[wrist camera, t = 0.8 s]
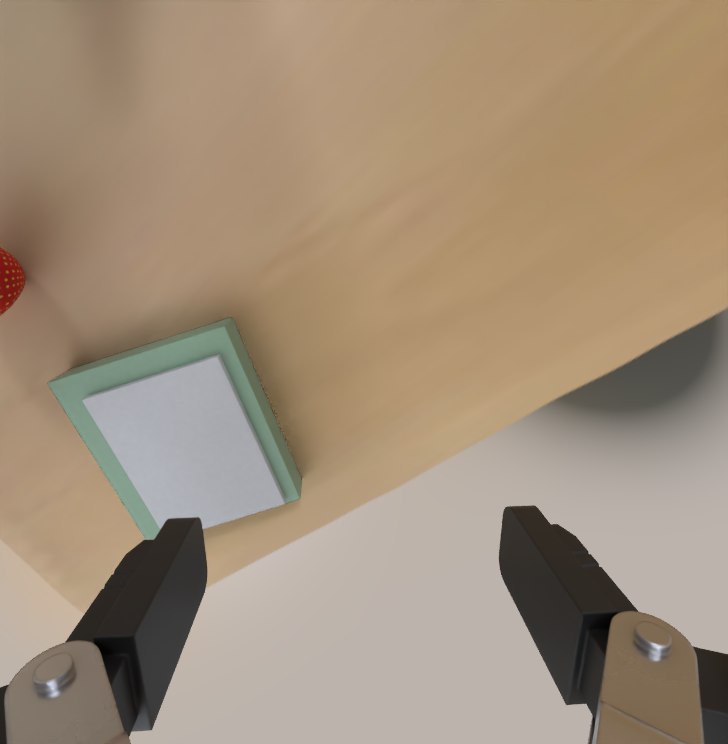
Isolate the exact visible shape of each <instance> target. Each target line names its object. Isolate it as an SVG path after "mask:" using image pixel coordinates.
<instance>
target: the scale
mask: <svg viewBox="0 0 728 744" xmlns="http://www.w3.org/2000/svg"><path fill="white" fill-rule="evenodd" d="M47 384H48V385H49V387H50V389H51V390H52V392H53V393H54V395H55V396H56V398H57V400H58V401H59V403H60V404H61V406H62V408H63V409H64V411H65V412H66V414H67V415H68V417H69V419H70V420H71V422H72V423H73V425H74V427H75V428H76V430H77V431H78V433H79V434H80V436H81V438H82V439H83V441H84V442H85V444H86V446H87V447H88V449H89V450H90V452H91V453H92V455H93V457H94V458H95V460H96V461H97V463H98V465H99V466H100V468H101V469H102V471H103V473H104V474H105V476H106V477H107V479H108V480H109V482H110V484H111V485H112V487H113V488H114V490H115V492H116V493H117V495H118V496H119V498H120V499H121V501H122V503H123V504H124V506H125V507H126V509H127V511H128V512H129V514H130V515H131V517H132V518H133V520H134V522H135V523H136V525H137V526H138V528H139V530H140V531H141V533H142V534H143V536H144V537H145V539H146V540H154V539H155V537H156V536H157V534H158V533H159V531H160V529H161V528H162V526H163V525H164V523H165V522H166V520H167V519H169V518H193V517H199V518H200V519H201V522H202V528H203V529H206V528H209V527H212V526H216V525H219V524H222V523H225V522H229V521H232V520H235V519H238V518H242V517H245V516H248V515H251V514H255V513H258V512H261V511H264V510H267V509H271V508H274V507H277V506H280V505H284V504H286V503H290V502H293V501H296V500H299V499H300V497H301V486H302V479H301V476H300V474H299V472H298V469H297V467H296V465H295V462H294V460H293V458H292V455H291V453H290V451H289V448H288V446H287V444H286V441H285V439H284V437H283V434H282V432H281V430H280V427H279V425H278V423H277V420H276V418H275V416H274V413H273V411H272V409H271V406H270V404H269V402H268V399H267V397H266V395H265V392H264V390H263V388H262V385H261V383H260V381H259V378H258V376H257V374H256V371H255V369H254V367H253V364H252V362H251V360H250V357H249V355H248V353H247V350H246V348H245V346H244V343H243V341H242V339H241V336H240V334H239V332H238V329H237V327H236V325H235V322H234V320H233V318H232V317H230V318H227V319H224V320H221V321H218V322H215V323H211V324H208V325H205V326H202V327H199V328H196V329H193V330H190V331H187V332H184V333H180V334H177V335H174V336H171V337H168V338H165V339H162V340H159V341H156V342H153V343H149V344H146V345H143V346H140V347H137V348H134V349H131V350H128V351H125V352H122V353H119V354H115V355H112V356H109V357H106V358H103V359H100V360H97V361H94V362H91V363H88V364H84V365H81V366H78V367H75V368H72V369H69V370H67V371H66V372H64V373H62V374H61V375H59V376H57V377H56V378H54V379H53V380H51V381H49V382H48V383H47Z"/></svg>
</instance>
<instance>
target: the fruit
mask: <svg viewBox="0 0 728 744" xmlns="http://www.w3.org/2000/svg"><path fill="white" fill-rule="evenodd" d="M24 285H25V275H24V271H23V269H22V267H21V266H20V264H19V263H18V261H17V260H16V259H15V258H14V257H13V256H12V255H11V254H10V253H8V252H7V251H5V250H3V249H2V248H0V315H2V314H3V313H4V312H5V311H6V310H8V309H9V308H10V307H11V306H12V305H13V303H14V302H15V301H16V299H17V298H18V297H19V295H20V294H21V292H22V290H23V288H24Z"/></svg>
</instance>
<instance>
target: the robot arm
mask: <svg viewBox="0 0 728 744" xmlns="http://www.w3.org/2000/svg"><path fill="white" fill-rule="evenodd" d="M499 564H500V570H501V575H502V578H503V580H504V582H505V585H506V586H507V588H508V590H509V592H510V594H511V596H512V598H513V600H514V602H515V604H516V606H517V608H518V610H519V612H520V614H521V616H522V618H523V620H524V622H525V624H526V626H527V628H528V630H529V632H530V634H531V636H532V638H533V640H534V642H535V644H536V646H537V648H538V650H539V652H540V654H541V656H542V658H543V660H544V662H545V663H546V666H547V668H548V670H549V672H550V674H551V676H552V678H553V679H554V682H555V684H556V685H557V687H558V689H559V691H560V693H561V695H562V697H563V699H564V701H565V703H566V705H571V704H587V706H588V708H589V709H590V711H591V713H592V715H593V716H592V721H591V726H590V733H589V739H588V744H728V654H723V653H719V652H714V651H710V650H705V649H700V648H696V647H693V646H692V645H691V644H690V642H689V641H688V640H687V639H686V638H685V637H684V636H683V635H682V634H681V633H680V632H679V631H678V630H677V629H675V628H674V627H673V626H671V625H669V624H668V623H666V622H664V621H663V620H661V619H659V618H656V617H654V616H652V615H649V614H645V613H641V612H638V610H637V609H636V608H635V607H634V606H633V605H632V603H631V602H630V601H629V600H628V599H627V597H626V596H625V595H624V594H623V593H622V591H621V590H620V589H619V588H618V587H617V586H616V584H615V583H614V582H613V581H612V579H611V578H610V577H609V576H608V575H607V573H606V572H605V571H604V570H603V569H602V567H599V564H598V563H597V561H596V560H595V559H594V558H593V557H592V555H591V554H588V551H587V550H586V548H585V547H584V546H583V545H582V544H581V542H580V541H579V540H578V539H577V537H576V536H574V535H573V534H571V533H570V532H568V531H567V530H565V529H564V528H562V527H561V526H559V525H558V524H553V525H551V524H550V523H549V522H548V521H547V519H546V518H545V517H544V515H543V514H542V513H541V512H540V510H539V509H538V508H537V507H536V506H512V507H506V508H505V509H504V513H503V520H502V530H501V541H500V550H499ZM206 583H207V561H206V553H205V545H204V536H203V528H202V522H201V519H200V518H199V517H193V518H169V519H167V520H166V522H165V523H164V525H163V526H162V528H161V529H160V531H159V533H158V534H157V536H156V537H155V539H154V540H144V541H142V542H141V543H140V544H139V545H137V546H136V547H135V548H133V549H132V550H131V551H130V552H128V553H127V554H126V555H125V556H124V558H123V559H122V561H121V562H120V564H119V565H118V567H117V568H116V570H115V571H114V575H111V577H110V578H109V580H108V581H107V583H106V584H105V587H104V589H102V590H101V591H100V593H99V594H98V596H97V597H96V599H95V600H94V601H93V603H92V604H91V606H90V607H89V609H88V610H87V612H86V613H85V615H84V616H83V617H82V619H81V620H80V622H79V623H78V625H77V626H76V628H75V629H74V631H73V632H72V634H71V635H70V636H69V638H68V639H67V641H66V642H65V643H62V644H60V645H57V646H55V647H52V648H50V649H48V650H46V651H44V652H42V653H41V654H39V655H38V656H36V657H35V658H33V659H32V660H31V661H30V662H28V663H27V664H26V665H25V666H24V667H23V668H21V669H20V671H19V672H18V673H17V674H16V675H15V676H14V678H13V679H12V681H11V682H10V684H9V685H6V686H3V687H1V688H0V744H131V743H130V740H129V736H130V733H131V731H146V730H152V728H153V725H154V723H155V720H156V718H157V715H158V712H159V710H160V707H161V704H162V702H163V699H164V697H165V694H166V691H167V689H168V686H169V684H170V681H171V679H172V676H173V673H174V671H175V668H176V666H177V663H178V660H179V658H180V655H181V653H182V650H183V647H184V645H185V642H186V640H187V637H188V634H189V632H190V629H191V627H192V624H193V621H194V619H195V616H196V613H197V611H198V608H199V606H200V603H201V600H202V598H203V595H204V592H205V588H206Z"/></svg>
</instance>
